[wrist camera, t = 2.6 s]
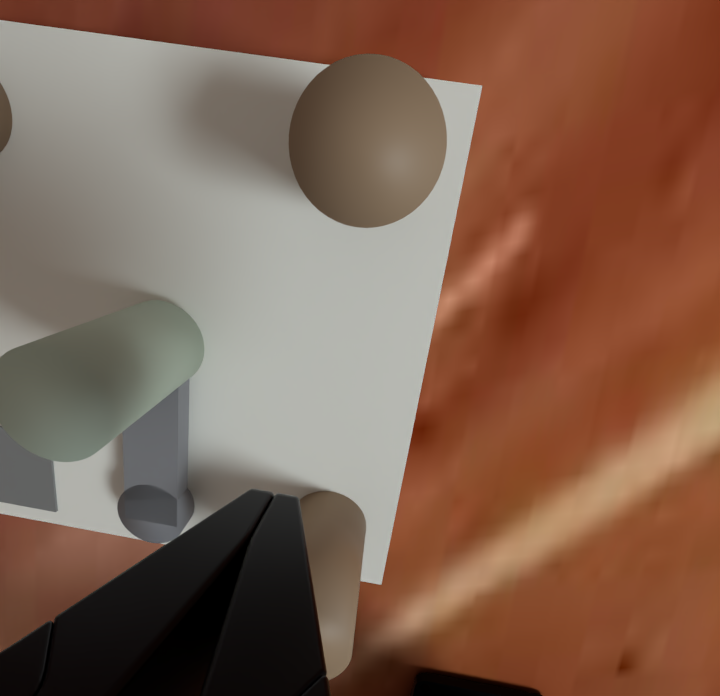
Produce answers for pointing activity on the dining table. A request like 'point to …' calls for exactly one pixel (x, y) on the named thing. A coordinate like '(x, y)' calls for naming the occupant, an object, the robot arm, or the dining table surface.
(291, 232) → the stool seat
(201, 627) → the robot arm
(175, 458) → the hinged leg
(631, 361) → the dining table surface
